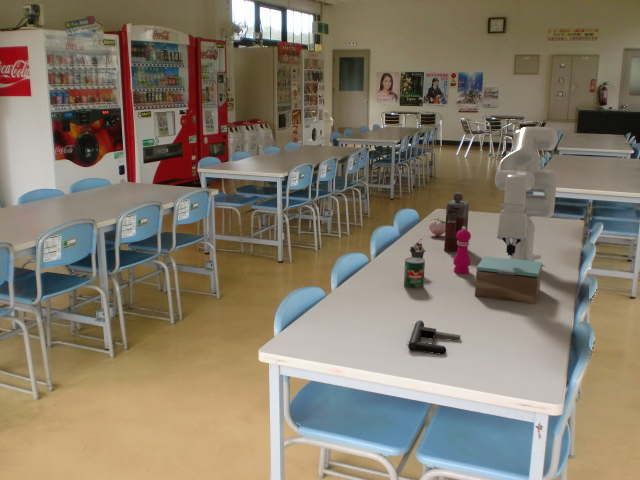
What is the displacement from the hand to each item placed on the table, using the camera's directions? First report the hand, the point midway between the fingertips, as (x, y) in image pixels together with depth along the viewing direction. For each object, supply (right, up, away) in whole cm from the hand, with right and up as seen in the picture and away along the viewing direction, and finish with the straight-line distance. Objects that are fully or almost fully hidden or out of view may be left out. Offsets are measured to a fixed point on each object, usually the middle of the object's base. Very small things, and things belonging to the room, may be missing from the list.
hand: (510, 254), depth 243 cm
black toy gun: (-36, -27, -41) cm, 61 cm away
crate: (0, -15, +5) cm, 16 cm away
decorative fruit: (-10, +7, +94) cm, 94 cm away
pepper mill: (-12, -8, +31) cm, 35 cm away
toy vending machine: (-7, 0, +65) cm, 66 cm away
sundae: (-31, -9, +29) cm, 44 cm away
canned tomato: (-35, -13, +12) cm, 39 cm away
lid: (0, -5, +2) cm, 5 cm away
